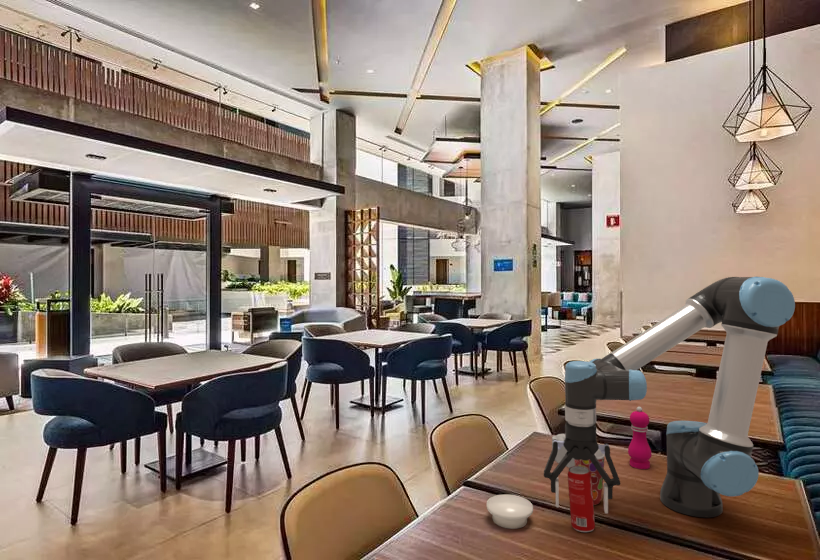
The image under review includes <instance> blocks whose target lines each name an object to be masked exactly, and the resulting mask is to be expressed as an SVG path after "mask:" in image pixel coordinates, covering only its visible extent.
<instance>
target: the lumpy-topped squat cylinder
mask: <svg viewBox="0 0 820 560" xmlns="http://www.w3.org/2000/svg"><path fill="white" fill-rule="evenodd" d="M554 439H556V440H557V441H564V440H565V433H558V434H556V435H553V436H552V437H551V450H552V449H553V440H554ZM566 452H567V450H566V449H565V447H564V446H562V447H561V449H560V450H558V452H557V455H556V458H555V461H554V462H556V463H557V464H559V463H560V461H561V460H562V459H563V457H564V456H565V454H566ZM573 466H575V461H574V458H572V460H571V461H570V462H569V463H568V464H567V465H566V467H565V468H568V469H569V468H570V467H573Z"/></svg>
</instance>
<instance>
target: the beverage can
mask: <svg viewBox="0 0 820 560" xmlns="http://www.w3.org/2000/svg"><path fill="white" fill-rule="evenodd" d="M567 484H568V497H569V499H568V501H569V509H570V511H569V512H570V514H569V515H570V523H571V527H572V528H573V529H574V530H575V531H577V532H581V533H590V532H593V531H594V530H595V528H596V524H595V523H596V522H595V521H596V520H595V509H594V506H595V505H593V493H592V480H591V474H590V472H589V469H588V468H586V467H583V466H573V467H570V468H569V467H568V471H567Z"/></svg>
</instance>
